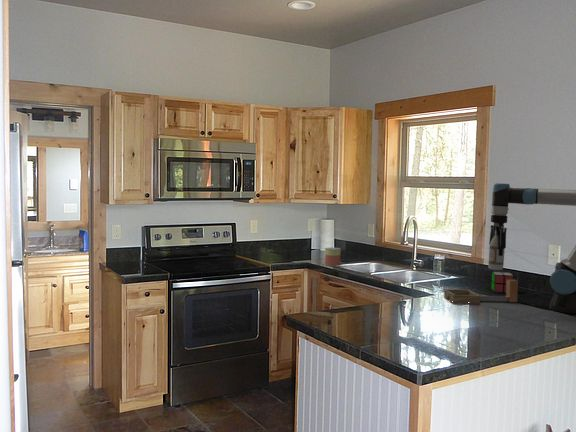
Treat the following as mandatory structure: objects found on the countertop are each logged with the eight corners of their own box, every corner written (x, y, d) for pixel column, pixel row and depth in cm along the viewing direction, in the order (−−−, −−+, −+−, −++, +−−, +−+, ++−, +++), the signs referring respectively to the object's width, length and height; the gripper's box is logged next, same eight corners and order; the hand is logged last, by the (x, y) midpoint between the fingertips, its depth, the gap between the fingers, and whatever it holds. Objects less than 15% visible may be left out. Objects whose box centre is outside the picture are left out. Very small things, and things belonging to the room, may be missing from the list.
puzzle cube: (512, 293, 309) (513, 275, 308) (494, 292, 311) (494, 274, 310) (509, 289, 319) (510, 272, 318) (491, 288, 321) (492, 271, 320)
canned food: (343, 264, 403) (343, 248, 402) (335, 266, 393) (336, 249, 392) (329, 263, 409) (329, 247, 408) (321, 265, 399) (322, 248, 398)
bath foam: (485, 267, 276) (487, 228, 274) (496, 267, 278) (499, 228, 276) (494, 270, 269) (497, 229, 268) (506, 270, 271) (509, 229, 270)
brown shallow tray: (479, 304, 278) (480, 295, 277) (453, 304, 277) (453, 295, 277) (469, 298, 293) (469, 289, 293) (443, 297, 293) (444, 289, 293)
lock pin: (517, 302, 284) (518, 281, 283) (475, 301, 283) (475, 280, 282) (513, 300, 288) (514, 279, 287) (472, 299, 288) (472, 278, 287)
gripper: (515, 216, 262) (512, 264, 263) (498, 213, 282) (495, 258, 283) (500, 216, 262) (496, 264, 263) (484, 212, 281) (481, 257, 283)
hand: (496, 260), depth 273 cm, fingers closed on bath foam, 7 cm apart
